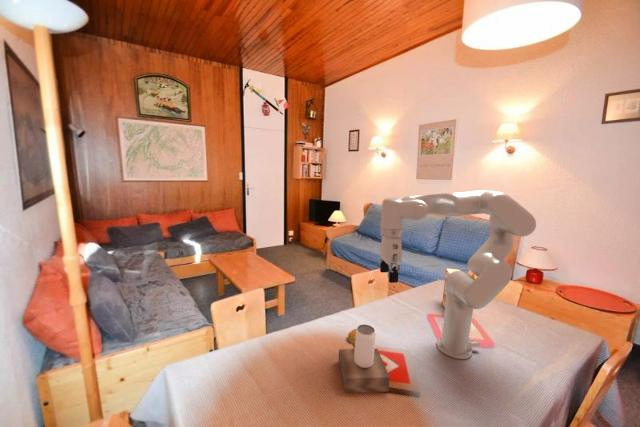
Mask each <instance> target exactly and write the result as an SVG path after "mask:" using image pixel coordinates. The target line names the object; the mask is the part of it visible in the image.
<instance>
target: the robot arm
mask: <svg viewBox="0 0 640 427" xmlns="http://www.w3.org/2000/svg"><path fill="white" fill-rule="evenodd" d="M430 214H431V215H440V216H444V217H445V216H446V217H460V216H461V217H462V216H470V215H479V214H480V215H481V214H482V215H483V214H485V215H489V225H490V226H489V227H490V233H489V236H488V237H487V239H486V241H485V242H484V243H483V244H482V245H481V246H480V247H479V249H477V250H476V252H474V253H473V254H472V256H470V258H469V259H468V261H467V268H468V270H469V271H470V272H471V273H472V274H473V275H475V276H477V277H476V278H474V277H473V276H472V275H471V274H469V273H467V272H466V271H462V270H460V271H454V272H452V273H450V274H449V275H448V277H447V279H446V305H445V307H444V313H443V314H444V315H443V322H442V332H441V337H440V338H438V339H437V340H436V348H437V349H438V350H439V351H440V352H441V353H443V354H444V355H445V356H448V357H450V358H454V359H458V360H466V359H469V358H471V356H472V353H473V350H472V348H473V347H475V348H478V347H481V344H480V341H476V340H475V341H474V340H473V338H472V337H471V338H470V334H471V327H472V318H473V313H474V310H481V309H483V308H485V307H486V306H488V305H489V304H490V303H491V302H492V301H493V300H494V299H495V298H496V297H497V295H499V294H500V293H501V292H502V291H503V290H504V289H505V287H507V286H508V285H509V283H510V281H511V279H512V277H513V269H512V267H511V265H510V264H509V263H508V262H507V261H506V258H507V257H508V256H509V255H510V253H512V250H513V248H514V244H515V237H516V236H517V237H528V236H530V235H531V234H532V233H534V231H535V230H536V228H537V221H536V219H535V216H534V215H533V214H532V213H531V212H530V211H528V210H527V209H526V208H525V207H523V206H522V205H521V204H520V203H519V202H518V201H516V200H515V199H514V198H513V197H511V196H510V195H509V194H506V193H505V192H502V191H498V190H497V191H496V190H489V189H479V190H478V189H477V190H469V191H461V192H460V191H459V192H449V193H448V192H447V193H446V192H444V193H443V192H442V193H434V194H431V193H430V194H418V195H409V196H404V197H402V198H401V199H400V198H397V197H396V198H395V197H393V198H392V197H391V198H385V199H383V200H382V204H381V219H380V237H381V243H380V266H379V272H380V273H389V274H388V282H389V283H391V284H394V283H399V272H400V269H401V268H400V267H401V265H402V260H403V259H402V252H403V251H402V250H403V249H402V246H403V245H402V244H403V243H402V237H403V224H404V223H403V222H404V221H403V220H409V221H410V220H411V221H421V220H424V219H425V218H426V217H427V216H428V215H430ZM389 270H390V271H389Z"/></svg>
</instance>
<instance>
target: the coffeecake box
mask: <svg viewBox="0 0 640 427" xmlns="http://www.w3.org/2000/svg"><path fill="white" fill-rule="evenodd" d="M454 271H461V270H460V269H456V268H455V269H454V268H446V269H445V275H444V284H443V290H442V291H443V292H442V299H441V300H442V301H441V304H442V306H443V308H445V305H446V279H447V277H448V275H449V274H450V273H452V272H454Z"/></svg>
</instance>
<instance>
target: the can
mask: <svg viewBox="0 0 640 427" xmlns="http://www.w3.org/2000/svg"><path fill="white" fill-rule="evenodd" d="M356 329H357V331H356V337H355V345H354V349H355V351H354V362H355V363H356V364H357V365H358V366H359V367H362V368H369V367H371V366H372V365H373V361H374V349H376V348H375V347H376V346H375V345H376V333H375V328H374V327H373V326H372V325H369V324H360V325H358V326H357V328H356Z"/></svg>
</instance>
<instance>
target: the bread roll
mask: <svg viewBox="0 0 640 427" xmlns="http://www.w3.org/2000/svg"><path fill="white" fill-rule="evenodd" d="M356 331H357V328H355V329H352V330H350V331H349V332H348V334H347V339H348V340H349V342H350V343H352V344H353V345H354V346H355V337H356Z"/></svg>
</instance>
